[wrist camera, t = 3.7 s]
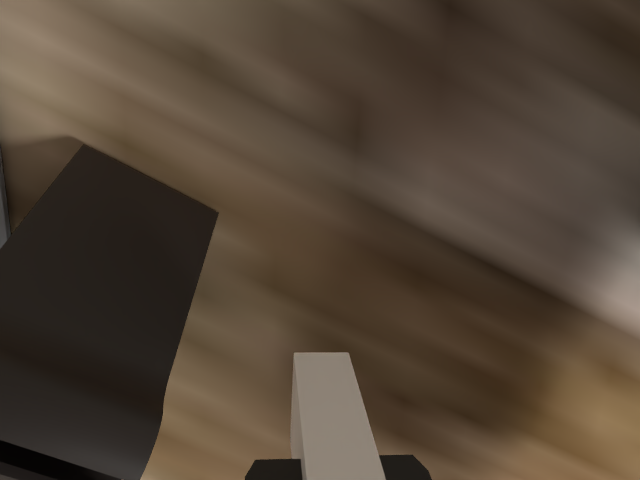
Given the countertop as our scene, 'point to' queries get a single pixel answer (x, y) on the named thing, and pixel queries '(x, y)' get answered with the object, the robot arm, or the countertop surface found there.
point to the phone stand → (94, 320)
